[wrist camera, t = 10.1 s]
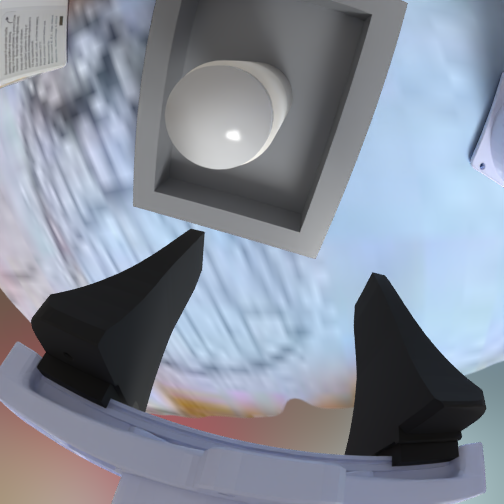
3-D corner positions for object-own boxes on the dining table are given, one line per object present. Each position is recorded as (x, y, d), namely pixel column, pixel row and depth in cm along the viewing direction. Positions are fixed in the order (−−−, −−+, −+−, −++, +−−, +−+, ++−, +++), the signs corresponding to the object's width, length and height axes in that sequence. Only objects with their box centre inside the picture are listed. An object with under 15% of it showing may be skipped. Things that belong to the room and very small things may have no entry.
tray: (393, 11, 12) (407, 3, 9) (315, 234, 22) (315, 259, 20) (187, -31, 12) (167, -43, 9) (152, 188, 22) (133, 206, 20)
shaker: (301, 72, 15) (291, 75, 9) (282, 138, 18) (259, 188, 11) (229, 55, 15) (170, 53, 9) (214, 120, 18) (155, 159, 11)
